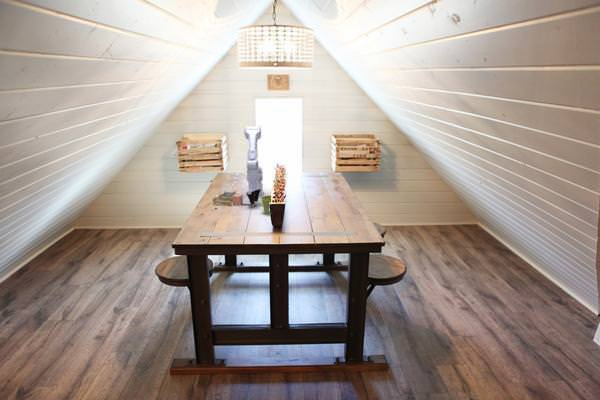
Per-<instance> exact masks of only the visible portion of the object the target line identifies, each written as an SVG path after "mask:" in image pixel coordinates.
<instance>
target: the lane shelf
mask: <svg viewBox="0 0 600 400" xmlns="http://www.w3.org/2000/svg"><path fill="white" fill-rule="evenodd" d="M226 192H227V190H223V191H222V192H221V193H219V194H217V195H216V196H214V197H213V198H212V204H213V206H221V207H224V206H225V207H231V206H233V198H228V197H226Z"/></svg>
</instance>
